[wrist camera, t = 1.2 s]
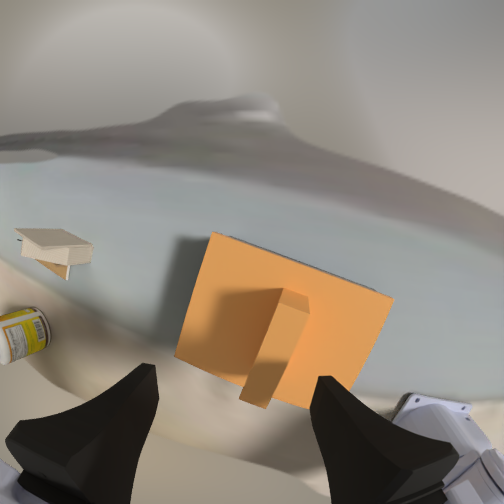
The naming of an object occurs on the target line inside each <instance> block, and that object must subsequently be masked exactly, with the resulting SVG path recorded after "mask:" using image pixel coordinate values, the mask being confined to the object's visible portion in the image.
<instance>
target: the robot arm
mask: <svg viewBox="0 0 504 504" xmlns="http://www.w3.org/2000/svg"><path fill="white" fill-rule="evenodd" d="M417 398H418V399H417ZM416 399H417V400H416ZM415 400H416V401H415ZM158 401H159V393H158V385H157V376H156V367H155V365H152V364H146V363H142V364H140V365H139V366H138V367H136V368H135V369H134V370H133V371H132V372H130V373H129V374H128V375H127V376H125V377H124V378H123V379H121V380H120V381H119V382H117V383H116V384H115V385H113V386H112V387H111V388H109V389H108V390H106V391H105V392H103V393H102V394H100V395H99V396H97V397H95V398H93V399H92V400H90V401H88V402H86V403H84V404H82V405H80V406H77V407H75V408H72V409H70V410H67V411H64V412H61V413H58V414H55V415H51V416H47V417H43V418H37V419H29V420H20V421H19V422H18V423H17V424H16V426H15V427H14V428H13V430H12V431H11V432H10V434H9V435H8V436H7V438H6V439H5V442H6V446H7V448H8V449H9V451H10V452H11V454H12V455H13V457H14V458H15V459H16V461H17V462H18V463H19V464H20V466H21V467H22V468H23V469H24V470H23V472H22V473H21V474H20V473H19V472H18V471H17V470H16V469H14V468H13V467H12V466H10V465H8V464H7V463H6V462H4V461H3V460H1V459H0V504H130V501H131V494H132V488H133V482H134V478H135V473H136V468H137V464H138V460H139V457H140V453H141V451H142V448H143V445H144V443H145V440H146V438H147V435H148V433H149V430H150V428H151V425H152V422H153V420H154V417H155V414H156V410H157V406H158ZM462 407H463V408H462ZM309 408H310V415H311V421H312V426H313V429H314V432H315V435H316V439H317V442H318V445H319V448H320V451H321V454H322V457H323V460H324V463H325V467H326V471H327V476H328V482H329V488H330V495H331V503H332V504H504V455H503V454H502V453H501V452H500V451H498V450H497V449H492V444H491V442H490V440H489V439H488V437H487V436H486V435H485V434H484V432H483V431H482V430H481V429H480V427H479V426H478V425H477V424H476V422H475V421H474V420H473V419H472V418H471V416H470V415H469V412H470V410H471V409H472V405H471V404H469V403H463V402H457V401H451V400H445V399H440V398H434V397H429V396H425V395H420V394H415V393H413V394H411V395H410V396H409V397H408V398H407V400H406V402H405V403H404V405H403V406H402V408H401V409H400V411H399V412H398V414H397V415H396V417H395V418H394V420H393V421H392V422H390V421H388V420H386V419H385V418H383V417H381V416H380V415H378V414H377V413H375V412H374V411H373V410H371V409H370V408H368V407H367V406H366V405H365V404H363V403H362V402H361V401H360V400H358V399H357V398H356V397H355V396H354V395H353V394H351V393H350V392H349V391H348V390H347V389H346V388H345V387H344V386H343V385H341V384H340V383H339V382H338V381H337V380H336V379H335V378H334V377H333V376H331V375H329V376H318V380H317V383H316V387H315V390H314V394H313V397H312V401H311V404H310V407H309Z"/></svg>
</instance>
